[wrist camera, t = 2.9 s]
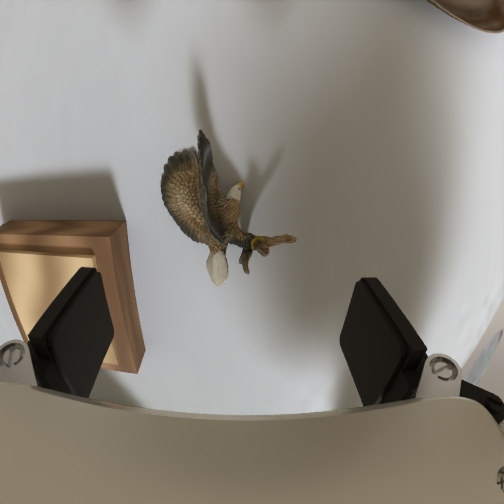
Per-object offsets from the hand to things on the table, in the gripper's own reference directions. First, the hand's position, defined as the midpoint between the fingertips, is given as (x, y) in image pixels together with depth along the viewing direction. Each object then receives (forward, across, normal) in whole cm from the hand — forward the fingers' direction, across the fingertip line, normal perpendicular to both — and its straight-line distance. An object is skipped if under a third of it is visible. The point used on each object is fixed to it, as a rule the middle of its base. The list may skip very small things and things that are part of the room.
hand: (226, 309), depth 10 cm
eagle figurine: (+14, +1, 0) cm, 14 cm away
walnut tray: (+13, +16, +9) cm, 22 cm away
